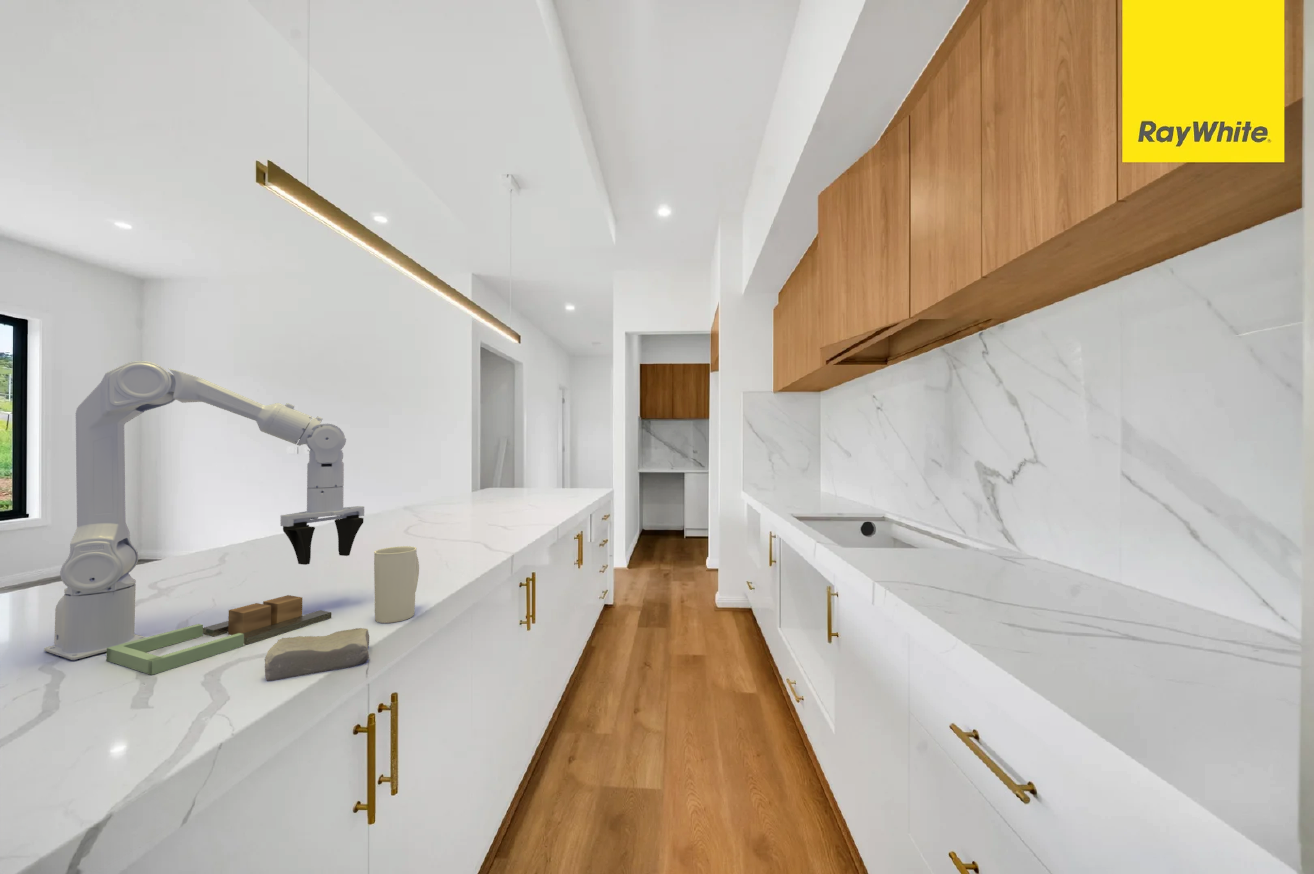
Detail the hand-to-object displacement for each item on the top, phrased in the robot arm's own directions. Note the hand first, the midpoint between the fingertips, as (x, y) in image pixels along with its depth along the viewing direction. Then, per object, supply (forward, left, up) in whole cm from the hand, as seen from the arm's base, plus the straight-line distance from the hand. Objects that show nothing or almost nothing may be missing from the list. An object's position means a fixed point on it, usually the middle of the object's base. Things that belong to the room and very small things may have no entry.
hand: (324, 559), depth 92 cm
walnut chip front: (0, -12, -10) cm, 15 cm away
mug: (+16, +4, -10) cm, 19 cm away
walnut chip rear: (0, -7, -10) cm, 12 cm away
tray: (0, -21, -9) cm, 23 cm away
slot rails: (0, -9, -9) cm, 13 cm away
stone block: (+22, -15, -10) cm, 28 cm away
